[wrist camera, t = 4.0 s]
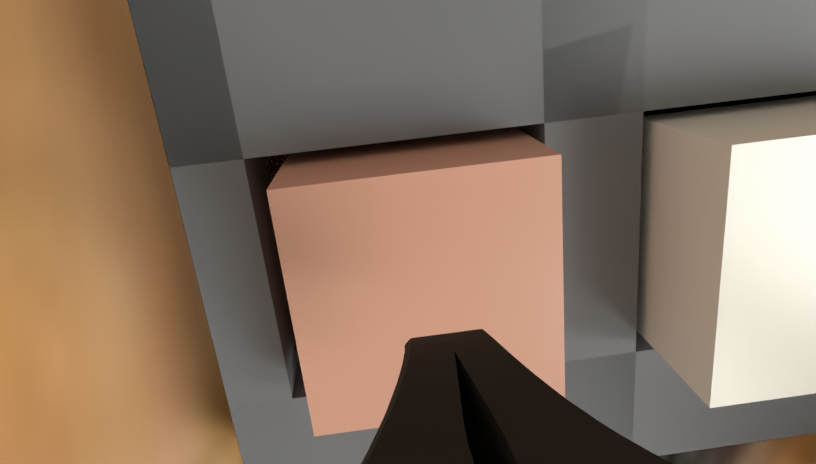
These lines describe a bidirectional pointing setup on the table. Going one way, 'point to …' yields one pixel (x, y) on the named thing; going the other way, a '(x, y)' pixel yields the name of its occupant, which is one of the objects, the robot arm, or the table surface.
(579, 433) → the robot arm
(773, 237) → the cream key
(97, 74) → the table surface
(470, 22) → the key console
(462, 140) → the terracotta key
